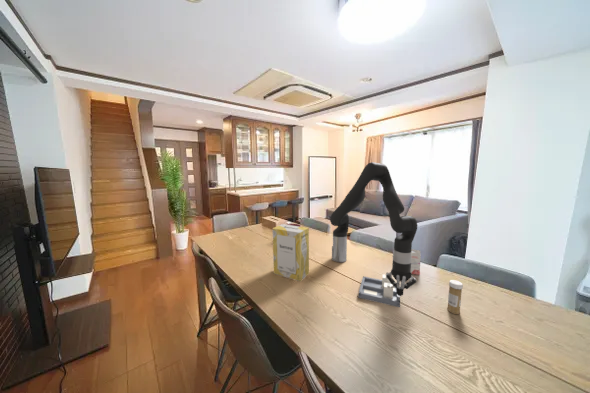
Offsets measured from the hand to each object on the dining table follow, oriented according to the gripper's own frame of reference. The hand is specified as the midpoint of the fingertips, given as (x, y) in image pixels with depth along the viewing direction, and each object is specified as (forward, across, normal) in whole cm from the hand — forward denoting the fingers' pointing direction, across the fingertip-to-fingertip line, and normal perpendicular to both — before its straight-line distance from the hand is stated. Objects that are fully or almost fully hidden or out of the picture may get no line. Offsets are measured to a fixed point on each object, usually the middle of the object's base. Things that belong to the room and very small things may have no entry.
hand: (399, 295), depth 99 cm
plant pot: (+4, -82, +57) cm, 100 cm away
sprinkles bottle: (+4, +21, +2) cm, 22 cm away
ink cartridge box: (+4, +7, +34) cm, 35 cm away
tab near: (+2, -5, 0) cm, 5 cm away
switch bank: (+3, -9, +4) cm, 10 cm away
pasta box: (+4, -58, +4) cm, 58 cm away
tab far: (+2, -6, +8) cm, 10 cm away
